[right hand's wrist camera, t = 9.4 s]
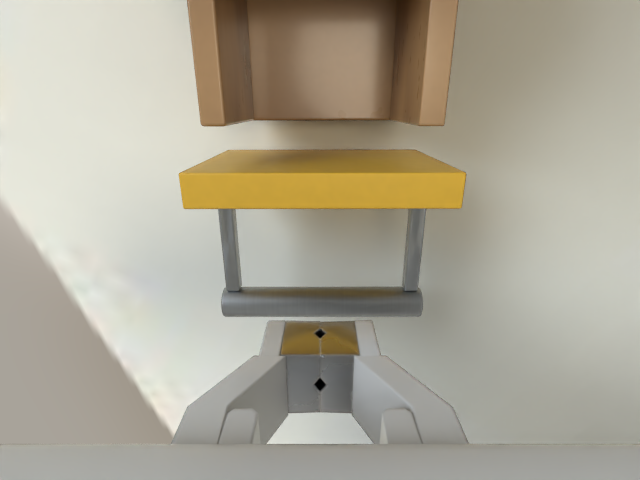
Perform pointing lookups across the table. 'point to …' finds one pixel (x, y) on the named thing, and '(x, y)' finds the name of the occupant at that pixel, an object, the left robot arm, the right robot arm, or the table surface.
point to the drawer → (322, 104)
